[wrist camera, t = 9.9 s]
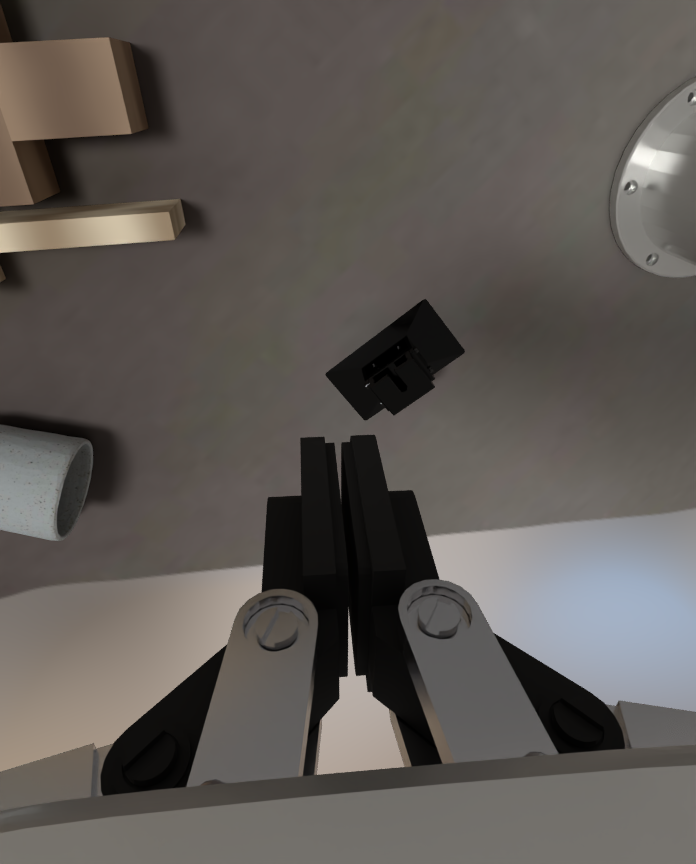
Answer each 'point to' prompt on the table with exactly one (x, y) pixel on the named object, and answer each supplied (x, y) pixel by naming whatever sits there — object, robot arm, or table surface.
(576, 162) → the table surface
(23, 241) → the light wooden angled piece
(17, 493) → the ceramic mug
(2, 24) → the tee block
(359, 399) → the build plate
